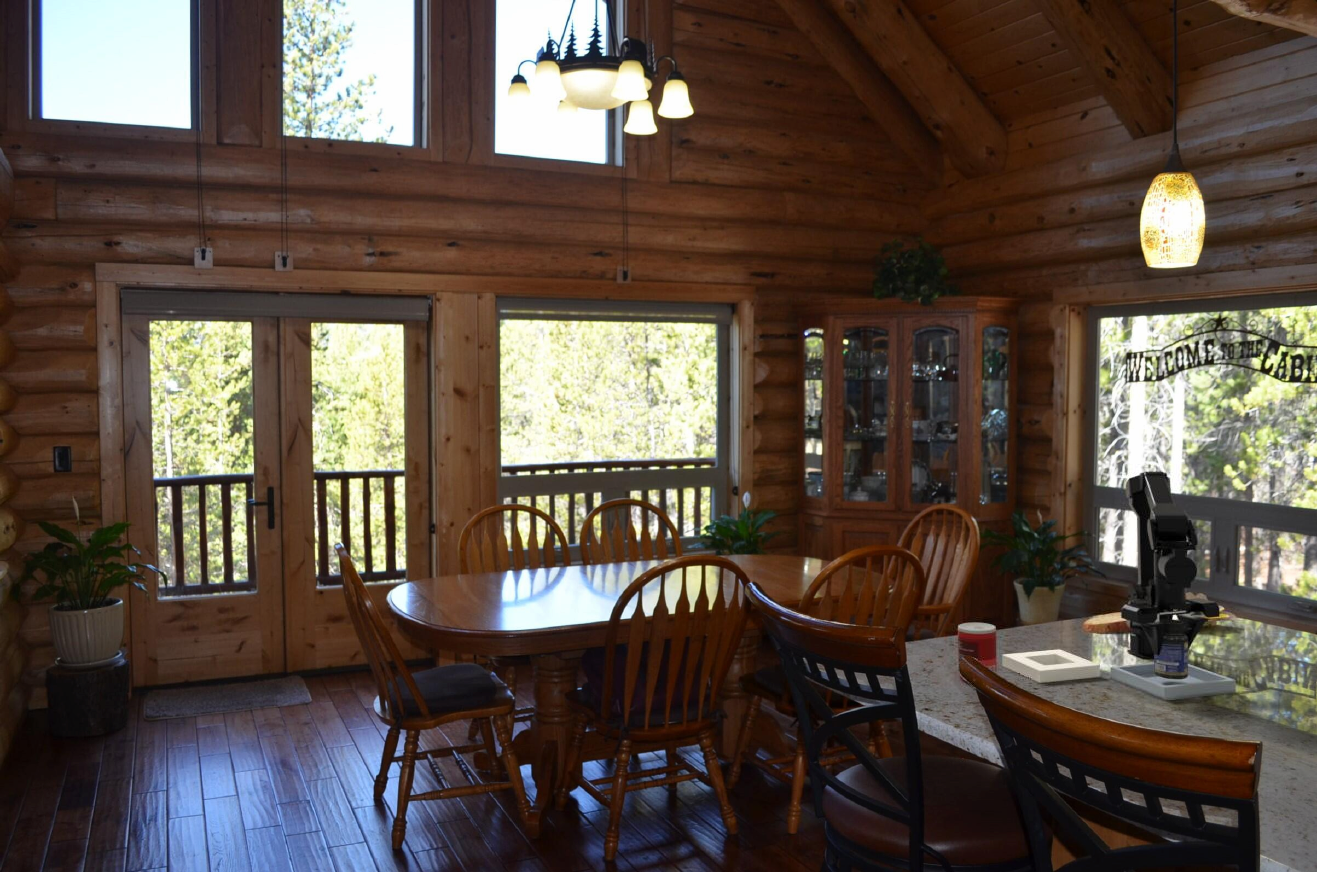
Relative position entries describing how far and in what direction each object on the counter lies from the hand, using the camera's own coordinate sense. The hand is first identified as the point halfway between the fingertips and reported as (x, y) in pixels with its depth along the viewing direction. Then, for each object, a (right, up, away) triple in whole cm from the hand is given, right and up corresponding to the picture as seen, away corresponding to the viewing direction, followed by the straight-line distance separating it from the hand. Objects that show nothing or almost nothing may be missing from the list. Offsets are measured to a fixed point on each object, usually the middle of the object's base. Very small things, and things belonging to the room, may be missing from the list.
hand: (1170, 653), depth 208 cm
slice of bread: (+13, -5, +51) cm, 53 cm away
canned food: (-36, -7, +9) cm, 38 cm away
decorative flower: (+31, -4, +49) cm, 58 cm away
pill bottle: (0, -5, 0) cm, 5 cm away
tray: (0, -7, 0) cm, 7 cm away
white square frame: (-19, -7, +13) cm, 24 cm away
